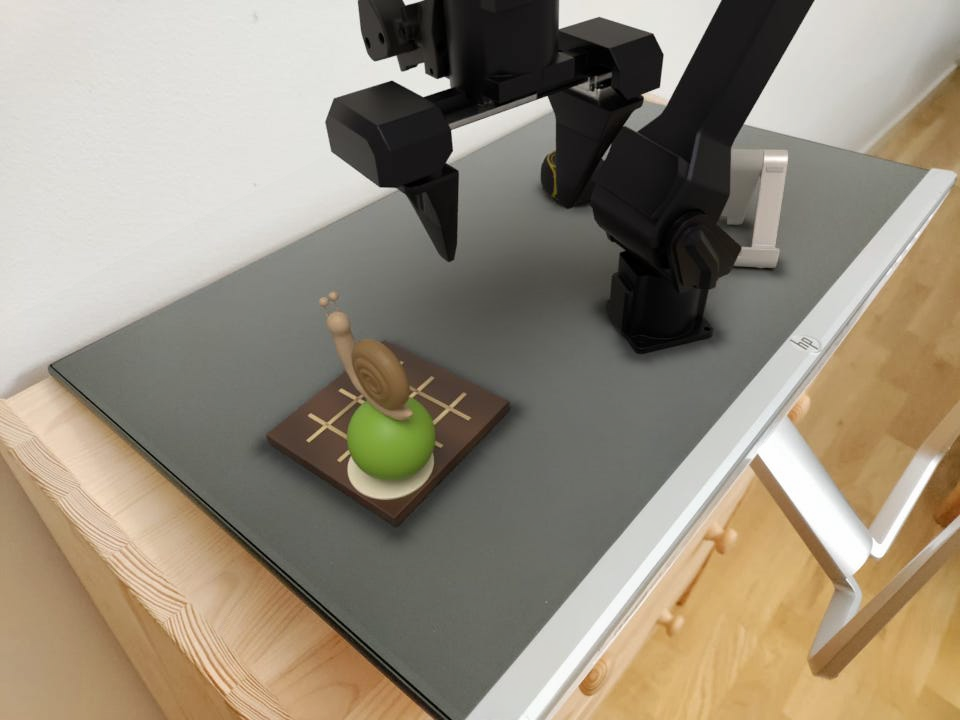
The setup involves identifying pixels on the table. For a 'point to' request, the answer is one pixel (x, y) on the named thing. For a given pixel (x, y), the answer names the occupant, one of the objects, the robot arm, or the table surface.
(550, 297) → the table surface
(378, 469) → the snail figurine
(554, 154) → the tape measure
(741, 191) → the tablet stand
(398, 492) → the cream round disc
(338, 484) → the game board
